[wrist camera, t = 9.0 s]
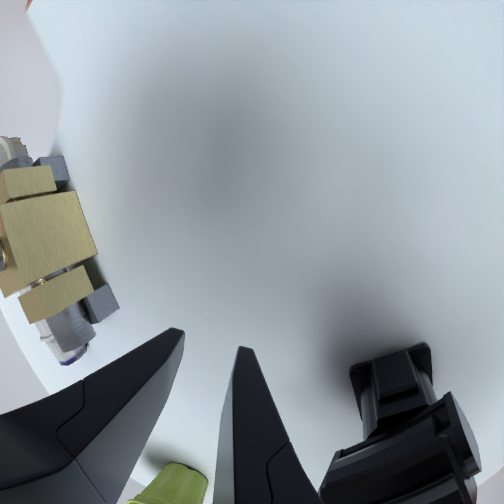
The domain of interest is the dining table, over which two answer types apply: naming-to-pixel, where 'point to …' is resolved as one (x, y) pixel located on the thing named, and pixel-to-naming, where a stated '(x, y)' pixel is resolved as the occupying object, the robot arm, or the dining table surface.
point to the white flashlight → (4, 151)
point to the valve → (48, 251)
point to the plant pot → (174, 487)
